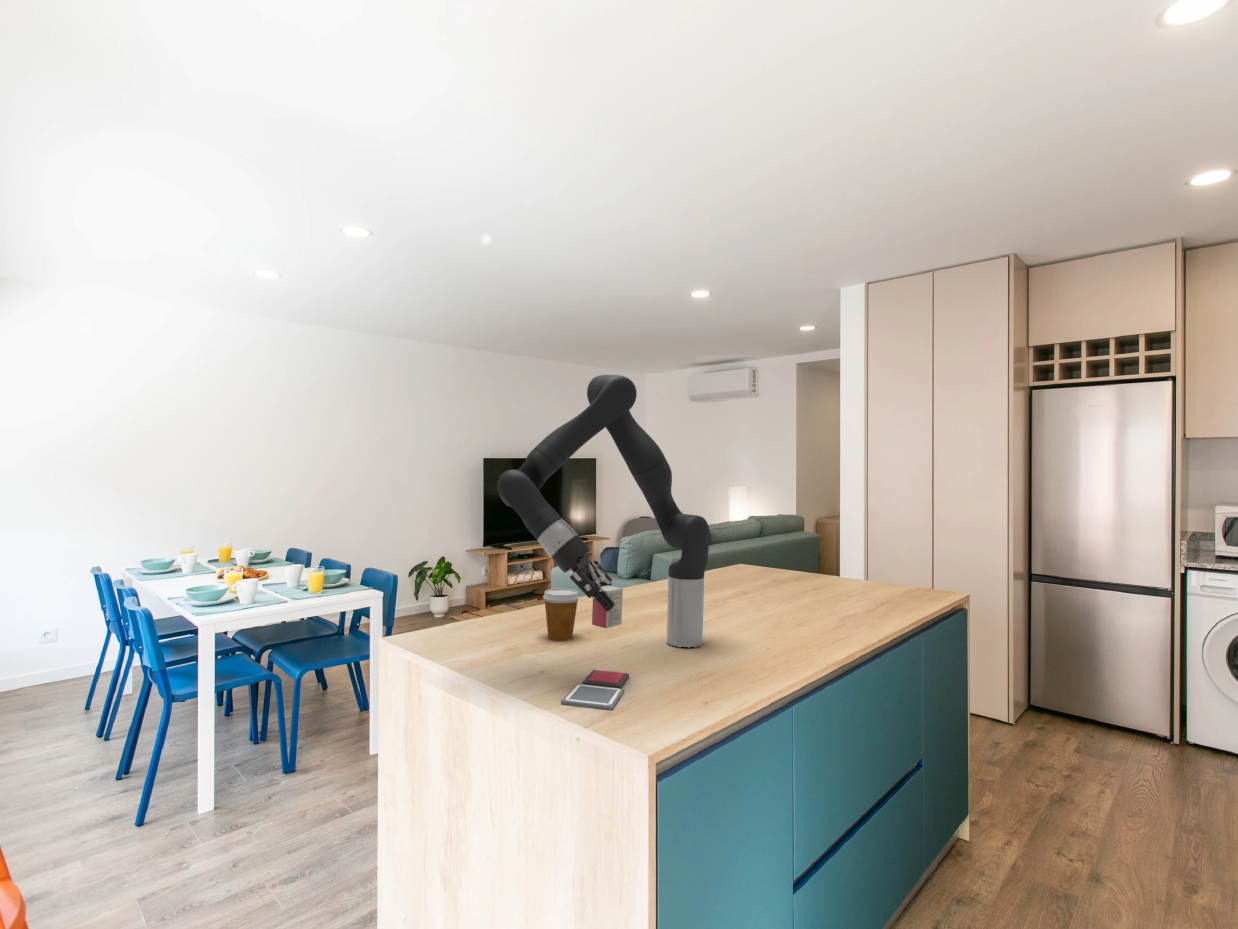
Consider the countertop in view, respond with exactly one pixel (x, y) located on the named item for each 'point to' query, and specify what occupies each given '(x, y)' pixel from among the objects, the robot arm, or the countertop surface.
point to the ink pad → (606, 679)
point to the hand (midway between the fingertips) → (615, 605)
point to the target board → (593, 696)
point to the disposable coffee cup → (560, 612)
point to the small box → (612, 616)
